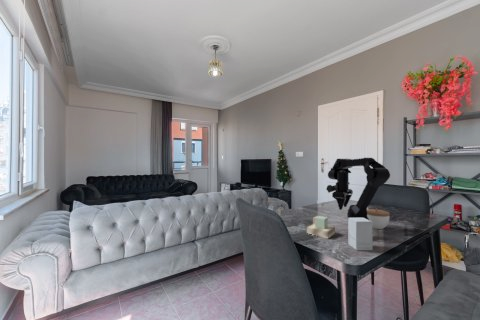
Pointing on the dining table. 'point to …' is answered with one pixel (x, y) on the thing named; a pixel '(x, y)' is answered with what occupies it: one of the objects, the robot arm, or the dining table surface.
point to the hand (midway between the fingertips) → (342, 208)
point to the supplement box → (360, 233)
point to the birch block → (321, 231)
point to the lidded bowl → (378, 218)
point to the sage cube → (321, 222)
